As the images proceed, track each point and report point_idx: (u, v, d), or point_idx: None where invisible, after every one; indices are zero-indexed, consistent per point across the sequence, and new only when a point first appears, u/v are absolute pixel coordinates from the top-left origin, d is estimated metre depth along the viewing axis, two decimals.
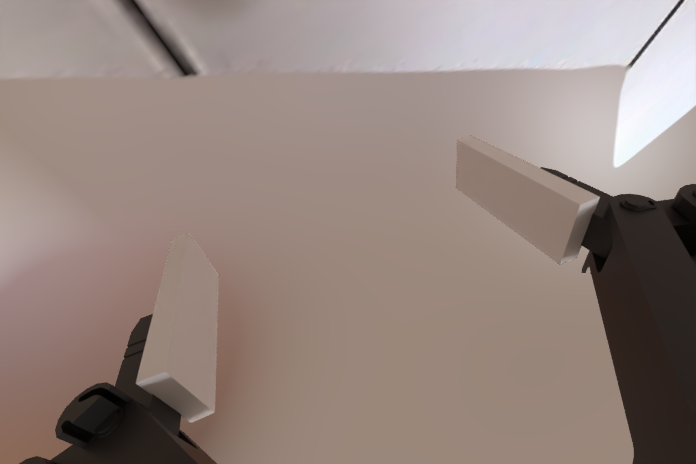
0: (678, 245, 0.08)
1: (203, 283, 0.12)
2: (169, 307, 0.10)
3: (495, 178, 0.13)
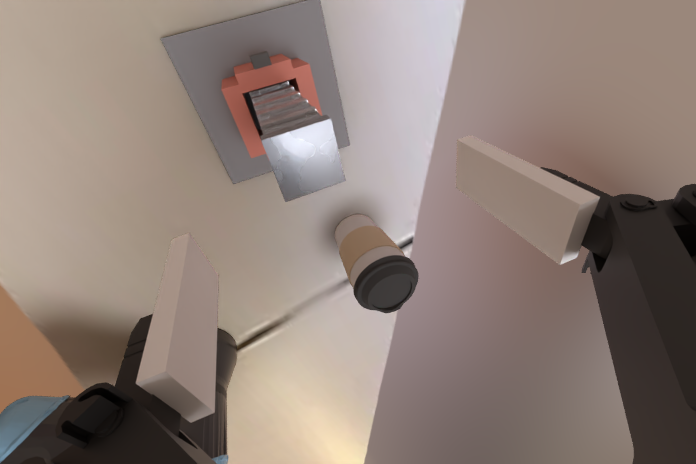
0: (678, 245, 0.08)
1: (203, 283, 0.12)
2: (169, 307, 0.10)
3: (495, 178, 0.13)
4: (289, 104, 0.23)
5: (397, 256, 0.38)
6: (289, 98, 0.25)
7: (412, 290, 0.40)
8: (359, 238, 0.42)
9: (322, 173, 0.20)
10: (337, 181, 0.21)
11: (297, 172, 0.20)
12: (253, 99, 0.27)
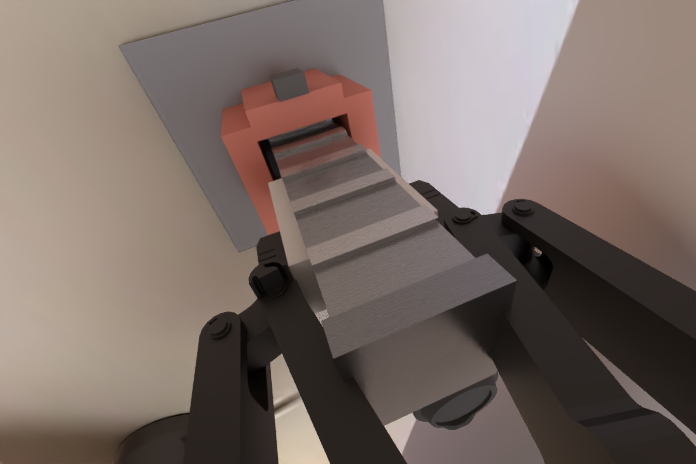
0: (504, 248, 0.09)
1: None
2: (291, 223, 0.12)
3: None
4: (358, 185, 0.11)
5: None
6: (348, 160, 0.14)
7: (490, 399, 0.28)
8: None
9: (457, 375, 0.09)
10: (481, 378, 0.09)
11: (405, 388, 0.08)
12: (277, 154, 0.16)
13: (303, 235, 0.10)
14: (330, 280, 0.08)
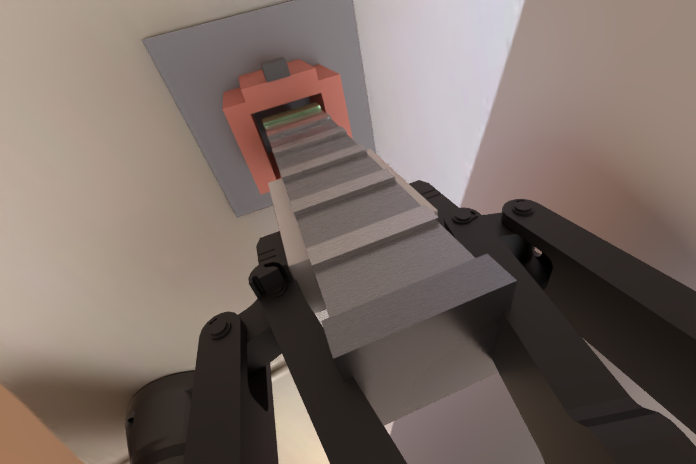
0: (503, 248, 0.09)
1: None
2: (291, 223, 0.12)
3: None
4: (358, 185, 0.11)
5: None
6: (348, 160, 0.14)
7: None
8: None
9: (457, 374, 0.09)
10: (480, 378, 0.09)
11: (405, 388, 0.08)
12: (277, 153, 0.16)
13: (303, 235, 0.10)
14: (330, 280, 0.08)
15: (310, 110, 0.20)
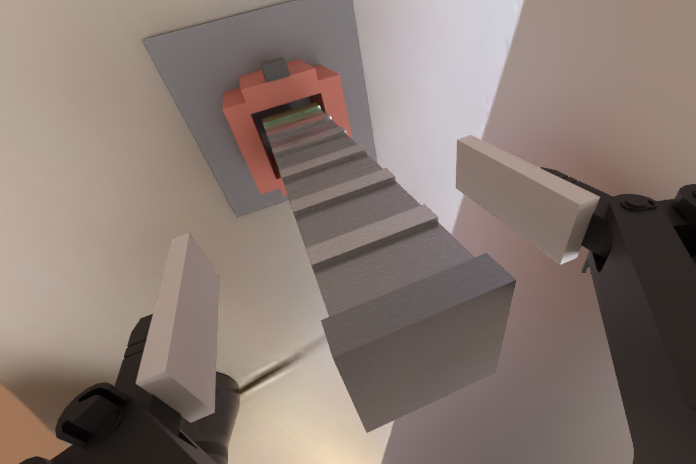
0: (678, 245, 0.08)
1: (203, 283, 0.12)
2: (169, 307, 0.10)
3: (495, 178, 0.13)
4: (358, 185, 0.11)
5: None
6: (347, 160, 0.14)
7: None
8: None
9: (456, 374, 0.09)
10: (480, 377, 0.09)
11: (405, 387, 0.08)
12: (277, 154, 0.16)
13: (303, 235, 0.10)
14: (330, 279, 0.08)
15: (310, 110, 0.20)
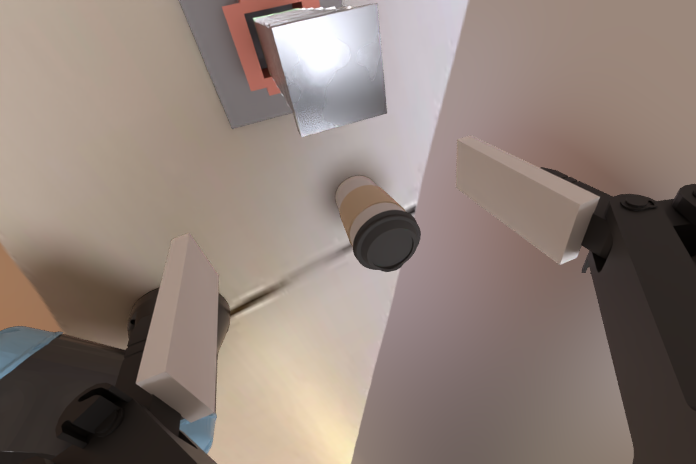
0: (678, 245, 0.08)
1: (203, 283, 0.12)
2: (169, 307, 0.10)
3: (495, 178, 0.13)
4: (310, 11, 0.17)
5: (399, 211, 0.37)
6: None
7: (413, 249, 0.39)
8: (361, 195, 0.41)
9: (356, 97, 0.14)
10: (375, 112, 0.15)
11: (321, 91, 0.14)
12: (260, 20, 0.21)
13: (268, 27, 0.15)
14: None
15: (291, 11, 0.26)
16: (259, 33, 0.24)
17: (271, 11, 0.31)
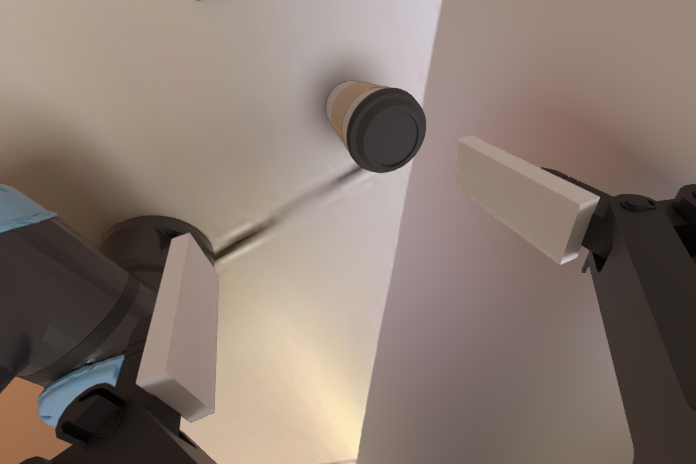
0: (678, 245, 0.08)
1: (203, 283, 0.12)
2: (169, 307, 0.10)
3: (495, 178, 0.13)
4: None
5: (400, 90, 0.31)
6: None
7: (418, 140, 0.32)
8: (354, 88, 0.35)
9: None
10: None
11: None
12: None
13: None
14: None
15: None
16: None
17: None
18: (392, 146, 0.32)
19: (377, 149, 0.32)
